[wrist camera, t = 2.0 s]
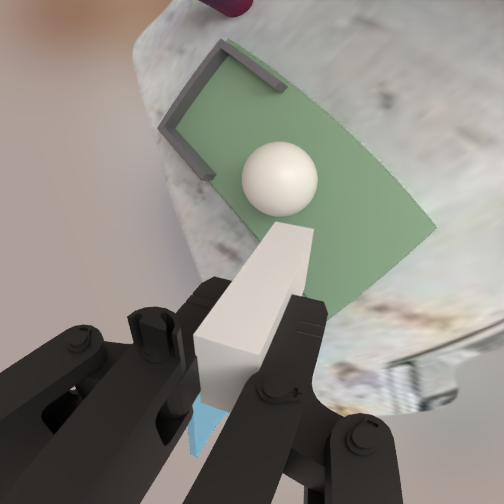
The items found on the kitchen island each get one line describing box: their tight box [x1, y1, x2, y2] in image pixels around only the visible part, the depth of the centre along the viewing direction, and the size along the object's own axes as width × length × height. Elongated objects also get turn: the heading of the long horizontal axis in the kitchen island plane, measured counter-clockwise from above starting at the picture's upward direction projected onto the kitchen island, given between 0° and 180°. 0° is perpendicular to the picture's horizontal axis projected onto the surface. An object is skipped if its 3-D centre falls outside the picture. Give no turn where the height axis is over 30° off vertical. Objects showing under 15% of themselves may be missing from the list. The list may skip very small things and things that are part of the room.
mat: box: [175, 39, 437, 320], centre depth 35 cm, size 34×16×1 cm, turn 46°
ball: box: [242, 142, 318, 217], centre depth 30 cm, size 8×8×8 cm
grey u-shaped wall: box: [157, 39, 288, 180], centre depth 36 cm, size 11×15×2 cm
